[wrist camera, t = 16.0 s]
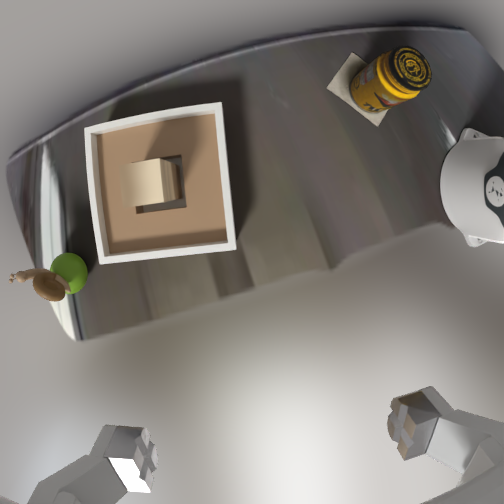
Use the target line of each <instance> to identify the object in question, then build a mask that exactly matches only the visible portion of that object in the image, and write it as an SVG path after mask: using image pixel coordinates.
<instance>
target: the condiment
mask: <svg viewBox="0 0 504 504" xmlns="http://www.w3.org/2000/svg"><path fill="white" fill-rule="evenodd" d="M431 76H432V73H431V69H430V65H429V63H428V61H427V60H426V59H425V57H424V56H423V55H422V54H421V53H420V52H419V51H418V50H416V49H414V48H413V47H410V46H398V47H396V48H394V49H393V50H391V51H387V52H384V53H382V54H381V55H380V56H378V57H377V58H376V59H375V60H374V61H372V62H371V63H370V64H367V63H366V62H364V61H363V60H362V59H361V58H359V57H358V56H357V55H355V54H354V53H353V52H352V53H351V55H350V56H349V57H348V59H347V60H346V61H345V63H344V64H343V66H342V67H341V68H340V70H339V71H338V73H337V74H336V75H335V77H334V78H333V80H332V81H331V83H330V84H329V85H328V87H327V89H329V90H330V91H332V92H333V93H334V94H336V95H337V96H339V97H340V98H341V99H343V100H344V101H345V102H347V103H348V104H349V105H351V106H352V107H353V108H354V109H356V110H357V111H358V112H360V113H361V114H362V115H363V116H365V117H366V118H367V119H368V120H370V121H371V122H372V123H373V124H375V125H376V126H379V124H380V122H381V121H382V119H383V117H384V115H385V114H386V112H387V110H388V109H390V108H392V107H393V106H395V105H398V104H400V103H402V102H404V101H407V100H409V99H412V98H413V97H415V96H416V95H417V94H418V93H419V92H420V91H421V90H424V89H425V88H427V87H428V85H429V84H430V82H431V79H432V78H431ZM346 85H347V87H346ZM347 88H348V89H347Z"/></svg>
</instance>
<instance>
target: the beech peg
mask: <svg viewBox="0 0 504 504" xmlns="http://www.w3.org/2000/svg"><path fill="white" fill-rule="evenodd" d="M119 174H120V184H121V194H122V202H123V208H128V207H134V206H141V205H148V204H154V203H162V202H167V201H172V200H176V199H181V198H183V196H182V187H181V177H180V167H179V165H177V164H174V163H171V162H169V161H166V160H163V159H160V158H158V159H152V160H146V161H140V162H135V163H129V164H124V165H119Z"/></svg>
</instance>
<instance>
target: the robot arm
mask: <svg viewBox="0 0 504 504" xmlns="http://www.w3.org/2000/svg"><path fill="white" fill-rule="evenodd" d="M440 189H441V197H442V202H443V206H444V209H445V211H446V213H447V215H448V217H449V219H450V220H451V222H452V223H453V224H454V225H455V226H456V227H457V228H458V229H459V230H460V231H461V232H462V233H463V235H464V237H465V240H466V242H467V244H468V245H469V246H471V247H477V246H479V245H481V244H483V243H486V242H488V241H493V242H498V243H504V137H489V136H487V135H485V134H483V133H480V132H478V131H476V130H474V129H471V128H465V129H464V130H463V131H462V133H461V136H460V139H459V142H458V143H457V144H456V145H455V146H454V147H453V148H452V149H451V150H450V152H449V153H448V155H447V156H446V158H445V161H444V163H443V167H442V171H441V179H440ZM390 407H391V409H392V410H393V411H392V412H391V414H390V415H389V416H388V421H387V426H388V432H389V435H390V437H391V439H392V440H393V441H396V442H398V447H397V449H398V451H399V453H400V454H401V456H402V458H403V459H404V460H408V459H411V458H414V457H417V456H420V455H422V454H425V453H426V455H428V456H429V457H431V458H433V459H435V460H437V461H438V462H440V463H442V464H444V465H446V466H448V467H450V468H451V469H453V470H455V471H457V472H459V473H461V474H463V475H462V477H461V479H460V480H459V482H458V484H457V486H456V488H454V489H452V490H450V491H448V492H446V493H444V494H442V495H439V496H437V497H435V498H433V499H431V500H428V501H426V502H424V503H421V504H504V423H503V422H499V421H495V420H492V419H488V418H485V417H481V416H478V415H474V414H471V413H468V412H465V411H461V410H455V411H454V409H453V408H452V407H451V406H450V405H449V404H448V403H447V402H446V401H445V399H444V398H443V397H442V396H441V395H440V394H439V393H438V392H437V391H436V390H435V388H434V387H432V386H429V387H426V388H423V389H421V390H418V391H415V392H412V393H408V394H405V395H402V396H399V397H396V398H393V400H392V401H391V406H390ZM150 436H151V435H150V433H149V431H148V429H146V428H141V427H128V426H115V425H105V426H103V428H102V430H101V432H100V434H99V436H98V438H97V440H96V442H95V444H94V446H93V448H92V450H91V452H90V454H89V455H84V456H83V457H81V458H80V459H78V460H76V461H75V462H73V463H71V464H70V465H68V466H66V467H65V468H63V469H61V470H60V471H58V472H56V473H55V474H53V475H51V476H49V477H48V478H46V479H44V480H43V481H41V482H39V483H38V485H37V487H36V488H35V490H34V492H33V494H32V496H31V498H30V499H29V502H28V503H27V504H115V503H116V502H118V500H119V499H121V498H122V497H123V496H124V495H125V494H126V493H127V492H128V491H127V490H129V491H138V492H151V490H152V486H153V481H154V477H153V475H152V472H153V471H154V470H155V469H157V464H158V454H157V449H156V447H155V444H153V443H152V442H151V441H149V440H150ZM0 504H18V503H16V502H14V501H11V500H9V499H7V498H5V497H3V496H1V495H0Z"/></svg>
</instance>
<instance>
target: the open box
mask: <svg viewBox="0 0 504 504" xmlns="http://www.w3.org/2000/svg"><path fill="white" fill-rule="evenodd" d="M85 150H86V165H87V177H88V187H89V197H90V205H91V213H92V220H93V227H94V234H95V240H96V246H97V252H98V257H99V263H100V264H108V263H117V262H126V261H135V260H144V259H154V258H163V257H172V256H182V255H191V254H200V253H210V252H219V251H229V250H236V234H235V224H234V215H233V205H232V195H231V186H230V176H229V166H228V156H227V145H226V135H225V124H224V114H223V108H222V102H218V103H209V104H201V105H194V106H187V107H181V108H174V109H168V110H163V111H157V112H152V113H147V114H142V115H137V116H132V117H127V118H123V119H119V120H114V121H110V122H106V123H102V124H98V125H94V126H91V127H87V128H85ZM158 158H160V159H163V160H166V161H169V162H171V163H174V164H177V165H179V167H180V177H181V187H182V196H183V198H181V199H176V200H172V201H167V202H162V203H154V204H148V205H141V206H134V207H128V208H123V202H122V194H121V184H120V174H119V165H124V164H129V163H135V162H140V161H146V160H152V159H158Z"/></svg>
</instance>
